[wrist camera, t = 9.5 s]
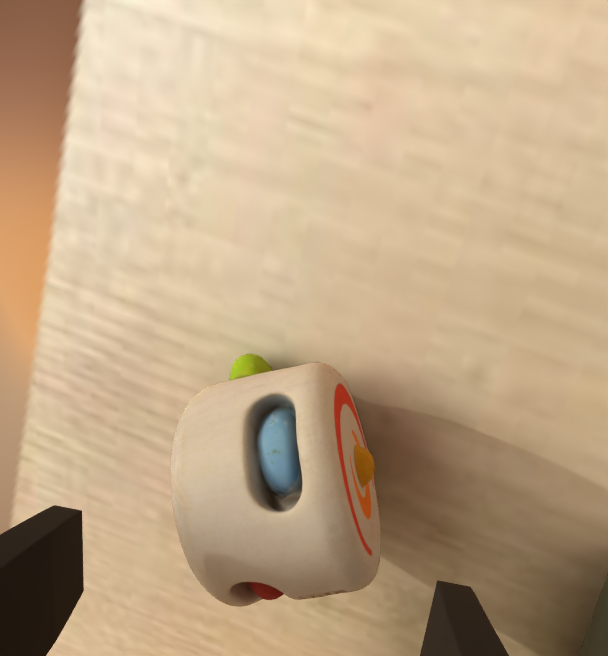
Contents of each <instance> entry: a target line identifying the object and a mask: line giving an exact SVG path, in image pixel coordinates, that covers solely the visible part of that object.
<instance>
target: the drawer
mask: <svg viewBox="0 0 608 656" xmlns="http://www.w3.org/2000/svg"><path fill="white" fill-rule="evenodd" d="M579 656H608V574H607V577H606V579H605V582H604V585H603V588H602V591H601V594H600V596H599V599H598V602H597V605H596V608H595V611H594V613H593V616H592V619H591V622H590V625H589V628H588V630H587V633H586V636H585V639H584V642H583V645H582V647H581V650H580V653H579Z"/></svg>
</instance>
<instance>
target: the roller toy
mask: <svg viewBox="0 0 608 656" xmlns="http://www.w3.org/2000/svg"><path fill="white" fill-rule="evenodd" d="M374 472H375V464H374V459H373V457H372V455H371V454H370V452H369V451H368V449H367V445H366V441H365V437H364V433H363V429H362V426H361V422H360V419H359V416H358V413H357V410H356V407H355V404H354V401H353V398H352V396H351V393H350V391H349V389H348V387H347V385H346V383H345V381H344V380H343V378H342V377H341V376H340V374H339V373H338V372H337V371H336V370H335V369H333V368H332V367H330V366H328V365H326V364H322V363H308V364H304V365H300V366H295V367H289V368H284V369H279V370H274V371H272V369H271V367H270V366H269V364H268V363H267V362H266V361H265V360H264V359H263V358H262V357H260V356H258V355H254V354H246V355H243V356H241V357H239V358H238V359H237V360H236V361H235V363H234V364H233V367H232V370H231V374H230V379H229V381H226V382H222V383H218V384H214V385H211V386H209V387H206V388H205V389H203V390H202V391H200V392H199V393H198V394H197V395H196V396H195V397H194V398H193V399H192V400H191V402H190V403H189V404H188V406H187V407H186V409H185V410H184V412H183V414H182V416H181V418H180V421H179V423H178V426H177V429H176V433H175V437H174V443H173V449H172V459H171V492H172V504H173V510H174V517H175V522H176V526H177V530H178V534H179V538H180V542H181V545H182V548H183V551H184V553H185V556H186V558H187V561H188V563H189V565H190V567H191V569H192V571H193V573H194V574H195V576H196V577H197V579H198V580H199V582H200V583H201V584H202V585H203V587H204V588H205V589H206V590H207V591H208V592H209V593H210V594H211V595H212V596H214V597H215V598H216V599H218V600H219V601H221V602H223V603H225V604H228V605H231V606H247V605H250V604H253V603H255V602H257V601H259V600H261V599H266V600H273V599H277V598H278V597H280V596H282V595H283V594H285V595H287V596H288V597H290V598H293V599H297V600H301V599H309V598H315V597H322V596H327V595H331V594H338V593H345V592H352V591H357V590H360V589H362V588H364V587H366V586H367V585H369V584H370V583H371V581H372V580H373V579H374V577H375V576H376V573H377V570H378V566H379V562H380V552H381V533H380V519H379V510H378V503H377V496H376V489H375V483H374V478H373V476H374Z"/></svg>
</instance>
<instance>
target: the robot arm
mask: <svg viewBox="0 0 608 656" xmlns="http://www.w3.org/2000/svg"><path fill="white" fill-rule="evenodd" d="M83 591H84V588H83V540H82V511H81V510H76V509H71V508H65V507H60V506H55V505H54V506H52V507H50V508H48V509H46V510H44V511H42V512H40V513H38V514H36V515H35V516H33V517H31V518H29V519H27V520H26V521H24V522H22V523H20V524H18V525H17V526H15V527H13V528H11V529H9V530H8V531H6V532H4V533H3V534H1V535H0V656H46V655H47V653H48V652H49V650H50V649H51V647H52V646H53V644H54V643H55V642H56V640H57V638H58V636H59V635H60V633H61V631H62V629H63V628H64V626H65V624H66V622H67V621H68V619H69V617H70V615H71V613H72V611H73V610H74V608H75V606H76V604H77V602H78V600H79V598H80V597H81V595H82V593H83ZM420 656H509V655H508V653H507V651H506V650H505V648H504V646H503V644H502V643H501V641H500V639H499V637H498V635H497V634H496V632H495V630H494V628H493V626H492V625H491V623H490V621H489V619H488V617H487V615H486V614H485V612H484V610H483V608H482V606H481V604H480V602H479V600H478V599H477V597H476V595H475V593H474V592H473V590H472V589H471V587H468V586H463V585H458V584H453V583H448V582H443V581H438V580H437V585H436V589H435V593H434V598H433V602H432V606H431V610H430V615H429V619H428V623H427V628H426V632H425V636H424V641H423V645H422V649H421V653H420Z"/></svg>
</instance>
